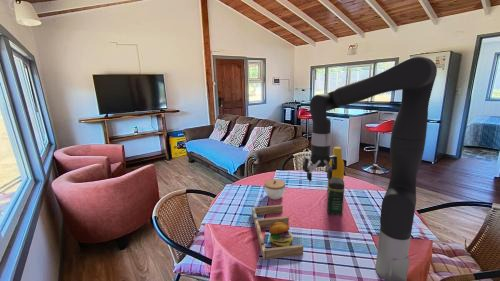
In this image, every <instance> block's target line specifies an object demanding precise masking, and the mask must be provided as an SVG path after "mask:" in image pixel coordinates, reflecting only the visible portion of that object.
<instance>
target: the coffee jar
mask: <svg viewBox="0 0 500 281" xmlns="http://www.w3.org/2000/svg"><path fill="white" fill-rule="evenodd" d="M327 186H328V190H327V202H326V204H327V205H326V210H327V213H328V214H329V215H332V216H341V215H342V214H343V211H344V210H343V208H344V207H343V206H344V197H345V181H344V179H343V180H342V179H340V178H337V177H332V178H331V179H330V180H329V184H328V183H327Z"/></svg>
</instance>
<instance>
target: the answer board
mask: <svg viewBox="0 0 500 281" xmlns="http://www.w3.org/2000/svg"><path fill="white" fill-rule="evenodd" d="M283 206H284V205H283V204H276V205H263V206H255V207H251V216H252V219H253V223H254V227H255V232H256V235H257V240H258V243H259V248H260V252H261V256H262V259H263V260H271V259H279V258H280V257H281V258H287V257H288V258H289V257H296V256H303V255H304V245H303V244H295V245H291V246H286V247H277V248H276V247H270V248H266V246H265V240H264V238H263V233H262V230H261V229H263V228H270V227H271V226H272V225H273V224H274V223H277V222H282V223H284V224H287V225H288V226H289V225H290V223H289V220H290V218H289V216H279V217H270V218H259V219H258V216H261V215H269V214H279V213H281V214H282V213H284V212H283V211H284V210H283V208H284V207H283Z"/></svg>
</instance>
